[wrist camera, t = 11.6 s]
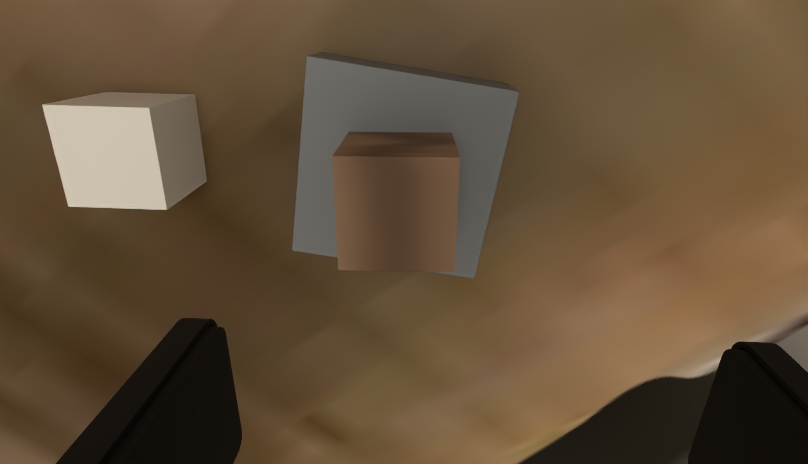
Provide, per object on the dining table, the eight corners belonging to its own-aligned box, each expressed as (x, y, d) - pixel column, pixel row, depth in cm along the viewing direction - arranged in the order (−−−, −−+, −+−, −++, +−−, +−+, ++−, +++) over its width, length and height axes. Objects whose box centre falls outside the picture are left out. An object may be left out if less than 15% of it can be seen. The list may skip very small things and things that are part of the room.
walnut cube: (451, 132, 28) (460, 157, 23) (447, 228, 30) (454, 272, 25) (348, 131, 28) (332, 156, 23) (352, 226, 31) (338, 270, 25)
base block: (505, 82, 32) (519, 92, 27) (467, 247, 36) (474, 278, 32) (323, 52, 31) (306, 56, 27) (308, 222, 36) (292, 250, 31)
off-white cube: (195, 94, 32) (149, 107, 27) (207, 180, 35) (167, 209, 29) (106, 91, 32) (42, 104, 27) (124, 178, 35) (68, 206, 29)
